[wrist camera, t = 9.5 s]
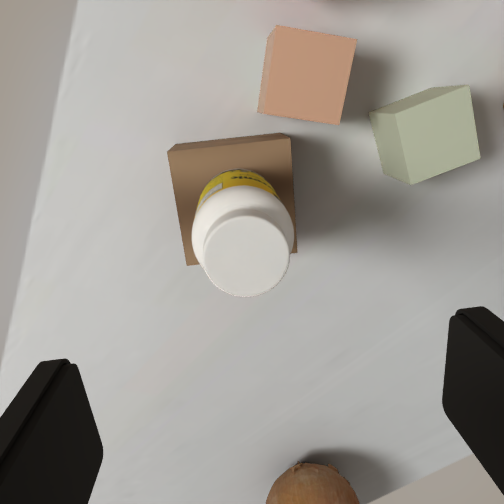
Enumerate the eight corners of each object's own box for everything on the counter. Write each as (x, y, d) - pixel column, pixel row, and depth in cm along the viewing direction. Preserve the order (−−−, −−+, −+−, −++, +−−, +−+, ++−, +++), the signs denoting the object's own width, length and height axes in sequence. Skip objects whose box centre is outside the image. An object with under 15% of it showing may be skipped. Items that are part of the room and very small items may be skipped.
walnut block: (286, 231, 33) (297, 252, 28) (191, 242, 33) (186, 265, 28) (279, 132, 30) (290, 138, 25) (175, 144, 30) (167, 151, 25)
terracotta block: (321, 121, 30) (339, 125, 26) (256, 111, 30) (263, 113, 25) (334, 49, 28) (357, 39, 24) (267, 37, 28) (276, 25, 23)
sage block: (442, 150, 32) (480, 158, 27) (383, 173, 32) (410, 185, 27) (430, 87, 30) (469, 84, 25) (368, 112, 30) (394, 113, 26)
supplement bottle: (293, 201, 27) (330, 252, 18) (242, 258, 28) (252, 332, 19) (233, 149, 25) (239, 175, 16) (182, 211, 27) (161, 268, 18)
